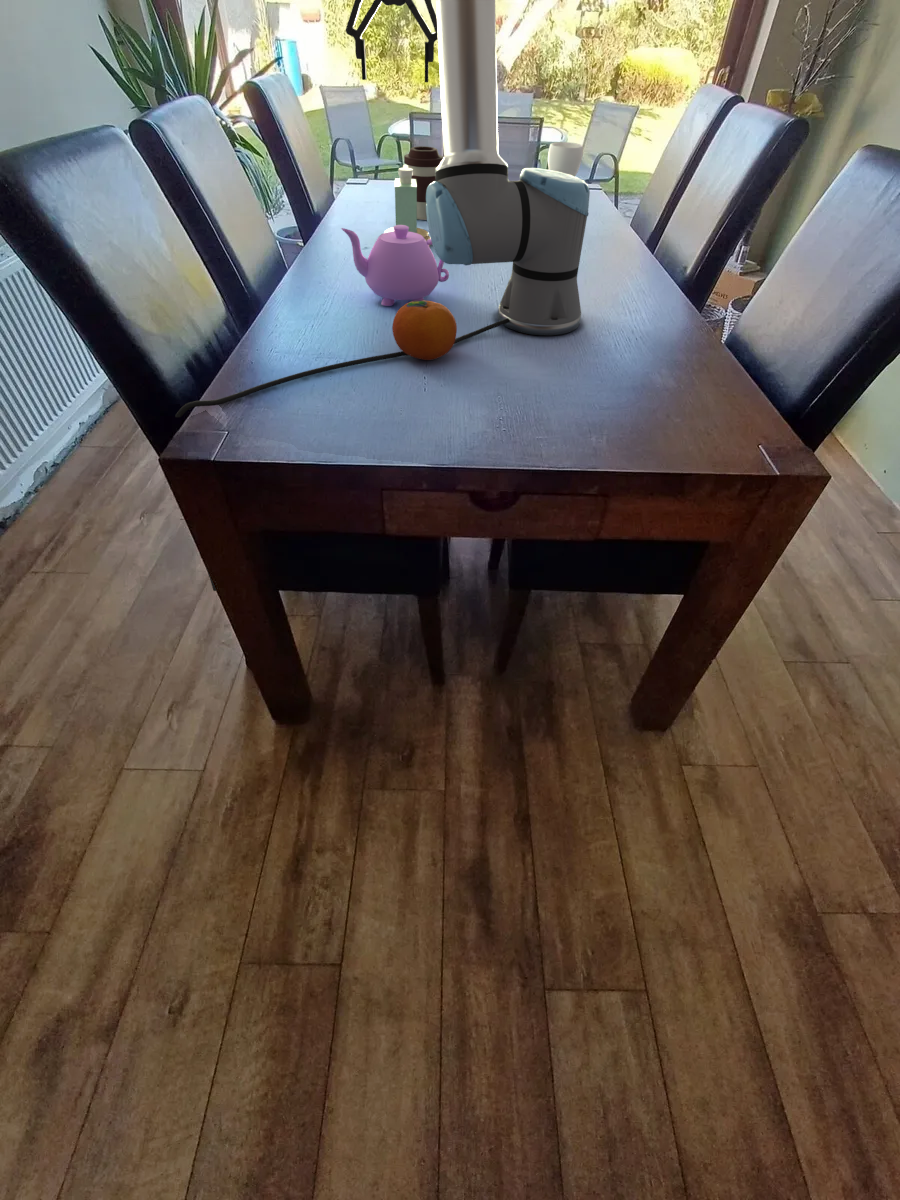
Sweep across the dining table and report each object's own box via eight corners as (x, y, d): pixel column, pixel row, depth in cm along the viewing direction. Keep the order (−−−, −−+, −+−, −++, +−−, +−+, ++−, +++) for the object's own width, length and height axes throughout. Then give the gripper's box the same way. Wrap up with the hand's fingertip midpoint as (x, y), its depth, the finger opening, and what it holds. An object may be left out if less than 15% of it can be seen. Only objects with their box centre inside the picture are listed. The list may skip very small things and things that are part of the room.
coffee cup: (449, 216, 169) (451, 148, 158) (428, 224, 163) (429, 154, 152) (418, 210, 172) (418, 143, 162) (397, 217, 166) (396, 148, 156)
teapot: (346, 311, 118) (340, 237, 109) (346, 285, 128) (341, 215, 119) (452, 310, 120) (454, 237, 111) (444, 285, 130) (446, 216, 121)
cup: (547, 221, 169) (556, 148, 158) (536, 212, 175) (544, 141, 164) (578, 220, 170) (589, 148, 159) (566, 211, 177) (576, 141, 165)
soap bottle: (383, 242, 145) (381, 173, 136) (385, 229, 152) (382, 163, 143) (428, 243, 146) (429, 174, 136) (427, 230, 153) (428, 164, 144)
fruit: (468, 356, 105) (471, 307, 100) (422, 374, 100) (423, 322, 94) (425, 336, 110) (425, 288, 105) (379, 352, 105) (377, 302, 100)
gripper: (326, -64, 120) (336, 80, 135) (456, -58, 121) (452, 84, 136) (330, -62, 125) (340, 76, 140) (455, -56, 126) (452, 80, 141)
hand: (395, 80), depth 138 cm, fingers open, 13 cm apart
